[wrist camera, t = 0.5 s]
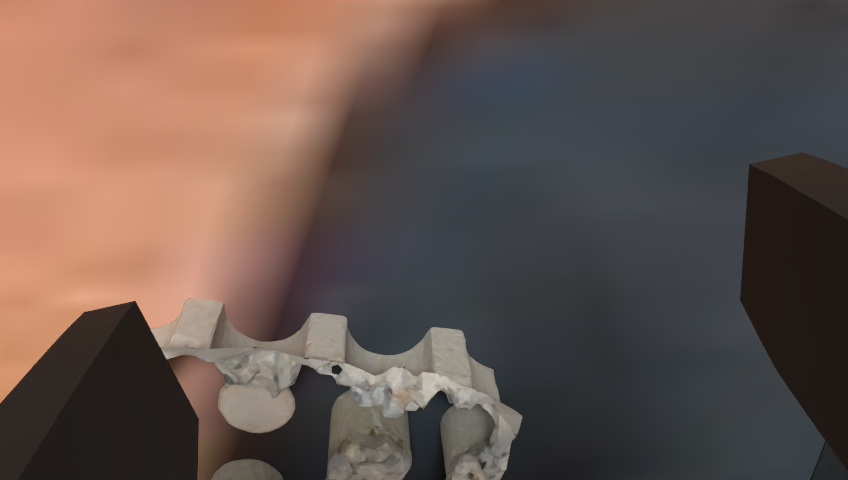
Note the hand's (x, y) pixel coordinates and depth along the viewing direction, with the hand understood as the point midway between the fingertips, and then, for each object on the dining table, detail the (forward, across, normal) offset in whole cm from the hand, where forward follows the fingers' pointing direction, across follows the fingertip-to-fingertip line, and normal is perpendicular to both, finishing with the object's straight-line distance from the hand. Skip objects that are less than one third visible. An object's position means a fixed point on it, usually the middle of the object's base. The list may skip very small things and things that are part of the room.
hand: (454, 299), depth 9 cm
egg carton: (+10, +5, +11) cm, 15 cm away
